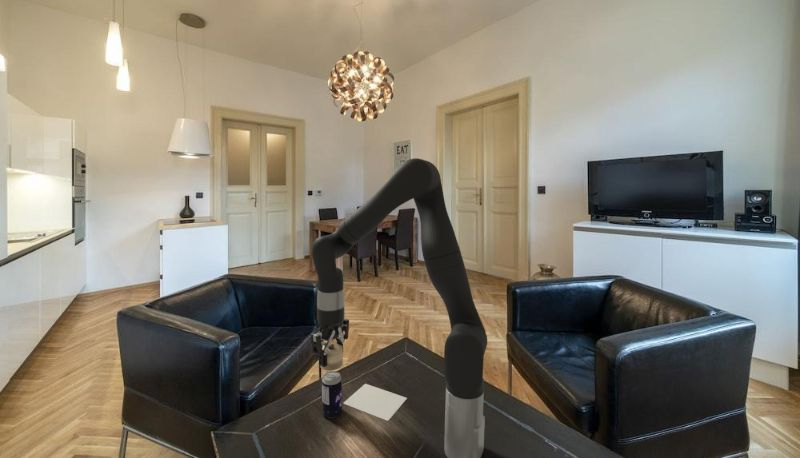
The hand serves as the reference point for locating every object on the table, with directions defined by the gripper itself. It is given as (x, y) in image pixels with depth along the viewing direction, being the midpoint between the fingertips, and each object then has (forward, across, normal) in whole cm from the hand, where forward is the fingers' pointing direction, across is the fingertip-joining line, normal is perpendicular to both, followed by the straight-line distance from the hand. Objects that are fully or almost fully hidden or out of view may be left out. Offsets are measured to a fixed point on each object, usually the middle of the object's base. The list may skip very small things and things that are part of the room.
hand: (331, 360), depth 96 cm
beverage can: (+17, 0, 0) cm, 17 cm away
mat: (+17, +11, -8) cm, 22 cm away
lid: (+1, 0, 0) cm, 1 cm away
